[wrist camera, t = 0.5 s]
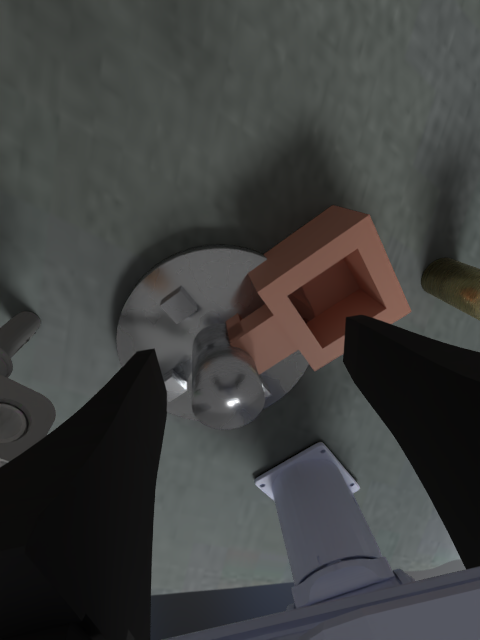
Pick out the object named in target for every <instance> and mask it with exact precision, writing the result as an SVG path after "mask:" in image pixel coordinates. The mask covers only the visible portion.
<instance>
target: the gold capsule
mask: <svg viewBox="0 0 480 640" xmlns="http://www.w3.org/2000/svg"><path fill="white" fill-rule="evenodd" d="M421 285H422V288H423V289H424V291H426V292H427V293H429V294H431V295H433V296H435V297H437V298H438V299H440V300H442V301H444V302H446V303H448V304H450V305H452V306H453V307H455V308H457V309H459V310H461V311H463V312H465V313H467V314H468V315H470V316H472V317H474V318H476V319H478V320H480V269H478V268H476V267H473V266H470V265H467V264H464V263H461V262H459V261H456V260H453V259H450V258H441V259H438V260H436V261H434V262H433V263H431V264H430V265H429V266H428V267H427V268H426V270H425V271H424V273H423V276H422V280H421Z"/></svg>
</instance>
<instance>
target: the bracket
mask: <svg viewBox="0 0 480 640" xmlns="http://www.w3.org/2000/svg"><path fill="white" fill-rule="evenodd" d="M264 256H265V257H266V258H267V260H266V261H264V262H263V263H261V264H260V265H259V266H257V267H256V268H254V269H253V270H252V271H250V272H249V273H248V275H249V277H250V279H251V281H252V283H253V285H254V287H255V289H256V291H257V293H258V294H259V295H260V297H261V298H262V300H263V301H264V302H265V304H264V305H263V306H261V307H260V308H259V309H257V310H256V311H254V312H253V313H251V314H250V315H248V316H247V317H245V318H244V319H242V318H241V317H240V315H239V314H238V313H237V314H236V315H234V316H233V317H231V318H230V319H228V320H227V321H226V326H227V331H228V336H229V341H230V345H231V346H233V347H237V348H240V349H242V350H244V351H246V352H247V353H248V354H249V355H250V356H251V357H252V358H253V360H254V362H255V364H256V368H257V371H258V374H259V375H260V374H261V373H263V372H264V371H266V370H267V369H269V368H271V367H272V366H274V365H275V364H277V363H278V362H280V361H281V360H283V359H285V358H286V357H288V356H289V355H291V354H292V353H294V352H296V351H297V350H299V351H300V352H301V353H302V355H303V356H304V357H305V359H306V360H307V362H308V363H309V364H310V366H311V367H312V368H313V370H314V371H316V370H318V369H319V368H321V367H323V366H324V365H326V364H327V363H329V362H331V361H332V360H334V359H336V358H337V357H339V356H340V355H342V354H344V339H345V323H346V317H350V316H356V315H365V316H369V317H372V318H375V319H378V320H381V321H383V322H386V323H389V324H392V323H394V322H395V321H397V320H399V319H400V318H402V317H404V316H405V315H407V314H408V313H410V312H411V309H410V307H409V305H408V302H407V300H406V298H405V295H404V293H403V291H402V288H401V286H400V284H399V282H398V279H397V277H396V275H395V272H394V270H393V268H392V265H391V263H390V261H389V259H388V256H387V254H386V252H385V249H384V247H383V245H382V242H381V240H380V238H379V236H378V233H377V231H376V229H375V226H374V224H373V222H372V219H371V217H370V215H369V214H365V213H361V212H357V211H353V210H350V209H346V208H342V207H338V206H335V205H332V206H331V207H329V208H328V209H326V210H325V211H324V212H322V213H321V214H319V215H318V216H317V217H315V218H314V219H312V220H311V221H310V222H308V223H307V224H305V225H304V226H303V227H301V228H300V229H298V230H297V231H296V232H294V233H293V234H291V235H290V236H289V237H287V238H286V239H284V240H283V241H282V242H280V243H279V244H277V245H276V246H275V247H273V248H272V249H270V250H269V251H267V252H266V253H265V254H264ZM300 287H301V290H298V289H299V288H300ZM302 288H303V289H302ZM295 290H296V291H295ZM297 290H298V291H297ZM301 291H302V293H301ZM303 291H305V292H303ZM292 292H294V293H292ZM298 292H299V293H301V294H298ZM295 293H296V294H297V296H298V297H297V296H296V294H295ZM293 294H294V295H295V296H294V295H293ZM304 294H305V295H304ZM289 295H291V296H290V297H291V298H288V297H287V296H289ZM292 295H293V296H292ZM299 295H300V296H299ZM301 295H302V296H301ZM303 295H304V297H305V298H306V299H305V298H304V299H302V298H303ZM293 297H295V298H294V300H295V301H296V300H297V299H298V300H299V301H303V304H300V305H302V306H303V305H304V304H305V305H306V306H304V307H302V306H300V307H299V303H300V302H299V301H298V300H297V302H299V303H297V302H296V303H291V302H295V301H293V300H292V301H290V299H292V298H293ZM300 297H301V299H302V300H301V299H300ZM296 298H297V299H296ZM307 301H308V302H309V303H308V302H307ZM310 303H311V305H310ZM294 304H296V305H297V306H298V307H299V309H297V308H298V307H296V306H295V305H294ZM308 304H309V305H308ZM294 306H295V307H296V309H297V310H300V309H301V308H304V309H306V308H307V307H308V308H307V309H306V310H302V309H301V310H302V311H304V312H306V311H307V310H308V309H309V310H308V313H307V312H306V313H304V312H303V313H302V311H301V310H300V311H301V313H302V315H300V314H299V313H300V311H299V312H298V311H297V310H296V309H295V307H294ZM310 306H311V307H312V308H313V310H312V309H311V307H310ZM310 310H312V311H310ZM309 311H310V312H309ZM313 312H314V314H313ZM309 313H310V314H311V313H312V316H311V315H310V316H311V317H312V319H311V318H310V317H309V316H308V315H309ZM303 314H305V315H306V314H307V316H308V317H307V318H306V317H305V316H303ZM301 316H303V317H304V318H306V320H307V319H308V318H310V319H311V320H310V319H309V320H310V321H309V320H307V321H306V322H307V323H305V321H304V320H303V319H302V318H303V317H301ZM313 316H315V318H314V317H313Z"/></svg>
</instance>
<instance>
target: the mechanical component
mask: <svg viewBox="0 0 480 640" xmlns="http://www.w3.org/2000/svg"><path fill="white" fill-rule="evenodd" d="M40 324H41V320H40V318H39V317H38V316H37V315H36V314H34V313H32V312H28V311H23V312H21V313H19V314H17V315H16V316H14V317H13V318H12V319H10V320H9V321H8V322H7V323H6V324H5V325H3V326H2V327H1V328H0V467H2V466H3V465H5V464H6V463H8V462H9V461H11V460H12V459H14V458H16V457H17V456H19V455H20V454H22V453H23V452H24V451H26V450H27V449H29V448H30V447H31V446H33V445H34V444H36V443H37V442H38V441H40V440H41V439H43V438H44V437H46V436H47V433H48V431H49V429H50V428H51V426H52V424H53V422H54V420H55V416H56V413H55V408H54V406H53V404H52V403H51V401H50V400H49V399H48V398H46V397H45V396H43V395H42V394H40V393H38V392H36V391H34V390H32V389H29V388H27V387H25V386H23V385H21V384H19V383H17V382H15V381H13V380H11V379H9V378H8V377H9V376H10V374H11V372H12V369H13V364H12V361H11V358H12V357H13V355H14V354H15V353H16V352H17V351H18V350H19V349H20V348H21V347H22V346H23V345H24V344H26V343H27V342H28V341H29V340H30V339H31V338H32V336H33V335H34V334H35V333H36V332H35V331H36V330H37V329H38V328H39V326H40Z"/></svg>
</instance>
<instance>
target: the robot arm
mask: <svg viewBox="0 0 480 640" xmlns="http://www.w3.org/2000/svg"><path fill="white" fill-rule="evenodd" d="M343 362H344V364H345V366H346V368H347V370H348V372H349V374H350V376H351V377H352V379H353V381H354V383H355V384H356V386H357V387H358V388H359V390H360V391H361V392H362V394H363V395H364V397H365V398H366V399H367V401H368V402H369V403H370V405H371V406H372V407H373V409H374V410H375V411H376V413H377V414H378V415H379V417H380V418H381V419H382V421H383V422H384V423H385V424H386V426H387V427H388V428H389V430H390V431H391V433H392V434H393V436H394V437H395V439H396V440H397V442H398V443H399V445H400V446H401V448H402V450H403V451H404V453H405V455H406V456H407V458H408V460H409V461H410V463H411V465H412V466H413V468H414V470H415V472H416V474H417V475H418V477H419V479H420V481H421V482H422V484H423V486H424V488H425V490H426V491H427V493H428V495H429V497H430V499H431V501H432V502H433V504H434V506H435V508H436V510H437V512H438V514H439V516H440V518H441V520H442V521H443V523H444V525H445V527H446V529H447V531H448V533H449V535H450V537H451V539H452V541H453V543H454V545H455V547H456V549H457V551H458V554H459V556H460V558H461V560H462V562H463V564H464V566H465V568H466V570H462V571H457V572H453V573H449V574H445V575H440V576H436V577H432V578H427V579H423V580H419V581H415V580H414V579H413V578H412V577H411V576H409V575H408V574H406V573H405V572H404V571H403V570H401V569H396V570H393V571H392V569H391V567H390V565H389V563H388V561H387V559H386V557H382V554H381V551H380V548H379V546H378V544H377V542H376V540H375V538H374V536H373V534H372V532H371V530H370V528H369V526H368V524H367V522H366V520H365V517H364V515H363V513H362V511H361V509H360V507H359V505H358V503H357V501H356V499H355V497H354V495H353V493H354V492H356V491H358V490H359V489H360V486H359V484H358V483H357V482H356V481H355V479H354V478H353V477H352V476H351V475H350V474H349V472H348V471H347V470H346V469H345V468H344V467H343V465H342V464H341V463H340V462H339V461H338V459H337V458H336V457H335V456H334V455H333V454H332V452H331V451H330V450H329V449H328V448H327V446H326V445H325V444H324V443H323V442H318V443H316V444H314V445H313V446H311V447H309V448H307V449H306V450H304V451H302V452H300V453H299V454H297V455H295V456H293V457H292V458H290V459H288V460H286V461H285V462H283V463H281V464H280V465H278V466H276V467H274V468H273V469H271V470H269V471H267V472H266V473H264V474H262V475H260V476H259V477H257V478H256V479H255V480H254V482H255V485H256V486H257V487H258V488H260V489H261V490H262V491H263V492H264V493H265V494H267V495H268V496H269V497H270V498H271V499H273V500H274V501H275V505H276V509H277V513H278V517H279V521H280V526H281V530H282V534H283V538H284V542H285V546H286V550H287V555H288V559H289V563H290V567H291V571H292V575H293V580H294V583H295V586H294V587H292V594H293V598H294V602H295V603H293V604H290V605H288V607H287V611H284V612H280V613H275V614H272V615H267V616H263V617H258V618H254V619H250V620H245V621H241V622H236V623H232V624H228V625H224V626H219V627H215V628H211V629H206V630H202V631H197V632H193V633H189V634H184V635H180V636H176V637H171V638H168V639H163V640H480V352H476V351H472V350H468V349H464V348H460V347H457V346H453V345H450V344H446V343H443V342H440V341H437V340H434V339H431V338H428V337H425V336H422V335H419V334H416V333H413V332H410V331H408V330H405V329H402V328H400V327H397V326H394V325H391V324H389V323H386V322H383V321H381V320H378V319H375V318H372V317H369V316H365V315H356V316H350V317H346V323H345V339H344V355H343ZM166 416H167V390H166V387H165V383H164V380H163V376H162V373H161V369H160V366H159V362H158V359H157V355H156V352H155V348H154V349H147V350H141V351H137V352H136V353H135V354H134V355H133V356H132V357H131V358H130V359H129V360H128V361H127V363H126V364H125V365H124V366H123V367H122V368H121V369H120V370H119V371H118V372H117V373H116V374H115V375H114V376H113V378H112V379H111V380H110V381H109V382H108V383H107V384H106V385H105V386H104V387H103V388H102V389H101V390H100V391H99V392H98V393H97V394H96V395H95V396H93V397H92V398H91V399H90V400H89V401H88V402H87V403H86V404H85V405H84V406H83V407H82V408H81V409H80V410H78V411H77V412H76V413H75V414H74V415H73V416H71V417H70V418H69V419H68V420H66V421H65V422H64V423H63V424H61V425H60V426H59V427H58V428H56V429H55V430H54V431H52V432H51V433H50V434H48V435H47V436H46V437H44V438H43V439H41V440H40V441H38V442H37V443H36V444H34V445H33V446H31V447H30V448H29V449H27V450H26V451H24V452H23V453H22V454H20V455H19V456H17V457H16V458H14V459H12V460H11V461H9V462H8V463H6V464H5V465H3V466H2V467H0V640H150V610H151V567H152V540H153V518H154V502H155V487H156V479H157V472H158V466H159V460H160V454H161V448H162V442H163V436H164V429H165V423H166Z"/></svg>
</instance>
